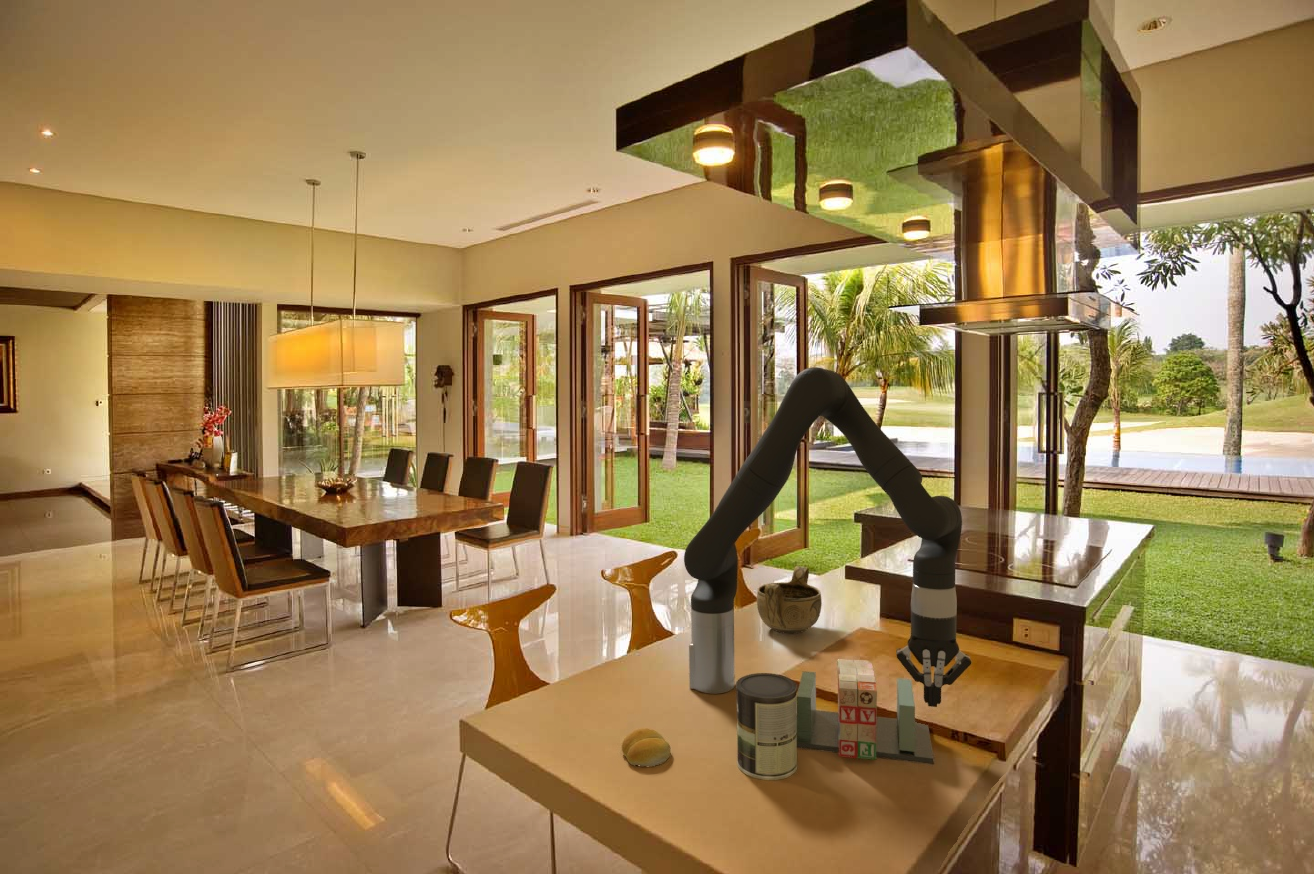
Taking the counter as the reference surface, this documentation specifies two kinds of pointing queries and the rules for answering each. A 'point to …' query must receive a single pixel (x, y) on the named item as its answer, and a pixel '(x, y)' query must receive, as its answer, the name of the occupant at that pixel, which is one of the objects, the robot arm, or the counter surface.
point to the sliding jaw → (905, 715)
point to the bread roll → (645, 748)
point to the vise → (824, 729)
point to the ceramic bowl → (790, 603)
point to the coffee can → (766, 726)
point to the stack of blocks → (857, 709)
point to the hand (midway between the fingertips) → (932, 704)
